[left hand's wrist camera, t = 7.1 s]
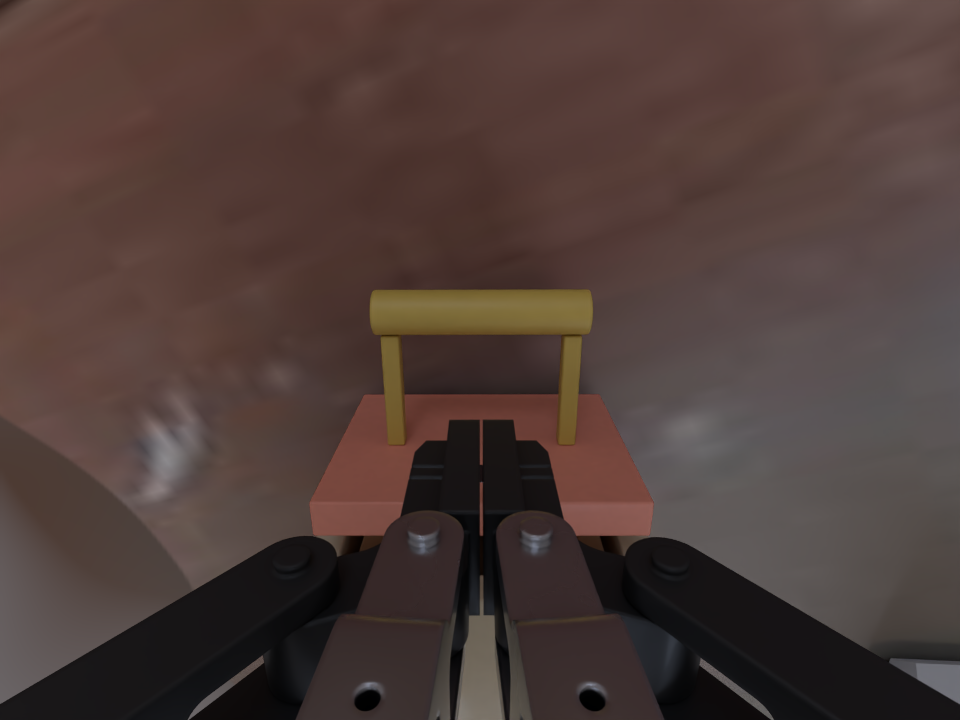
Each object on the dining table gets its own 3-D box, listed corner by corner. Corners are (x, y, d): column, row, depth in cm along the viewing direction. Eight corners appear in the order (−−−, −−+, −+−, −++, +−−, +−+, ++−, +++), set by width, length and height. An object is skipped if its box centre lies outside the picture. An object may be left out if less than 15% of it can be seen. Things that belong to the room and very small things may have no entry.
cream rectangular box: (359, 436, 25) (286, 600, 15) (604, 436, 25) (677, 600, 15) (385, 712, 31) (343, 947, 22) (580, 713, 31) (621, 948, 22)
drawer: (353, 266, 21) (283, 322, 14) (610, 265, 21) (678, 321, 14) (388, 678, 28) (355, 855, 21) (576, 679, 28) (609, 856, 21)
